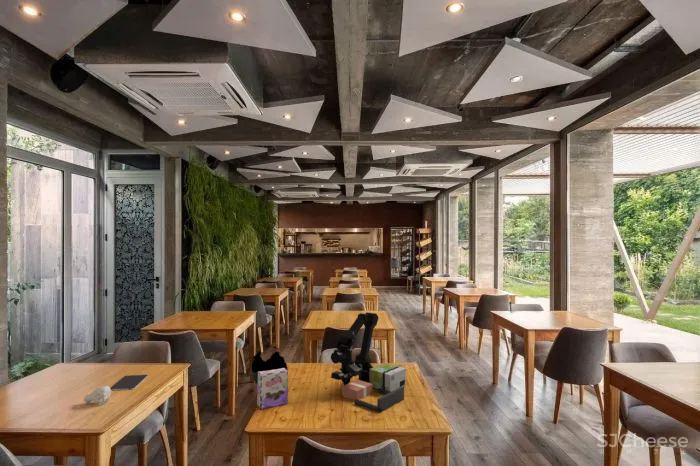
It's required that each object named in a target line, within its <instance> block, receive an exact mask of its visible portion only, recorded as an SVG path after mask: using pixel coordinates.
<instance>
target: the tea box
mask: <svg viewBox="0 0 700 466" xmlns="http://www.w3.org/2000/svg"><path fill="white" fill-rule="evenodd" d="M372 367H373V366H372ZM406 371H407V370H406V367H403V366H399V365H394V364H391V363H387V362H385V363H381V364H380V365H376V366H374V367H373V368H371V369H369V383H371V384H373V389H377V390H378V388H381V389H384V390H388V391H391V392H392V391H394V390H396V389H398V388H400V387H404V388H405V387H406V386H407V385H406V384H407V376H406V375H407V372H406Z"/></svg>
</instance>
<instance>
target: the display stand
mask: <svg viewBox="0 0 700 466" xmlns="http://www.w3.org/2000/svg"><path fill="white" fill-rule="evenodd" d="M377 393H378V394H381V395H383V396H380V397H378V398H377V399H376V401H377V403H376V404H377V405H375V404H373V403H369V402H367V401H365V400H362V399H360V400H358V399H355V400H353V402H354V405H356V406H359V407H361V408H365V409H368V410H370V411H374V412H376V413H378V414H381V413H383V412H384V411H385V410H388V409H389V408H391V407H393V406H395V405H396V404H398V403H400V402H402V401H403V400H405V386H404V387H400V388H398V389H396V390H394V391H392V392H391V391H388V390H384V389H381V388H378V389H377Z"/></svg>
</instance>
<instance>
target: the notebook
mask: <svg viewBox="0 0 700 466" xmlns="http://www.w3.org/2000/svg"><path fill="white" fill-rule="evenodd" d="M147 378H148V374H135V375H134V374H133V375H132V374H131V375H124V376H123V377H122V378H120V379H119V380H118V381H117V382H115V383H114V384H113V385H112V386H111V387H110V390H111V392H112V391H129V390H132V391H133V390H135V389H136V388H138V386H140V385H141V383H143V382H144V381H145V380H146V379H147Z"/></svg>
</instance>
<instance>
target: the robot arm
mask: <svg viewBox="0 0 700 466" xmlns="http://www.w3.org/2000/svg"><path fill="white" fill-rule="evenodd" d="M378 321H379V315H378V313H375V312H368V311H367V312H365V313H361V312H360V313H358V314H357V317H356V319H355V320H354V322H353V323H352V325H351V326H350V327H349V328H348V330H346V331H345V332H343V333H342V334H341V335H340V336H339V339H338V341H337V344H336V346H335V349H333V352H332V353H331V355H330V360H331V362H332V363H333V364H335V365H336V364H338V363H340V365H341V367H340V368H339V371H338V370H336V371H333V372H331V374H330V379H334V380H338V381H342V384H343V386H344V385H346V384H349V383H351V380H352V378H353V377H357V376H358V380H360V381H364V382H367V383H369V369H371V368H373V365H372V364H371V362H372V361H371V357H370V349H371V343H372V337H373V332H374V329H375V327H376V326H377V324H378ZM363 326H364V329H363V330H364V331H363V335H362V342H361V347H360V352H359V353H358V354H356V355H355V360H353V350H354V349H355V347H354V344H355V342H356V340H357V339H356V337H357V335H358V333H359V332H360V330H361V329H362V327H363Z"/></svg>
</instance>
